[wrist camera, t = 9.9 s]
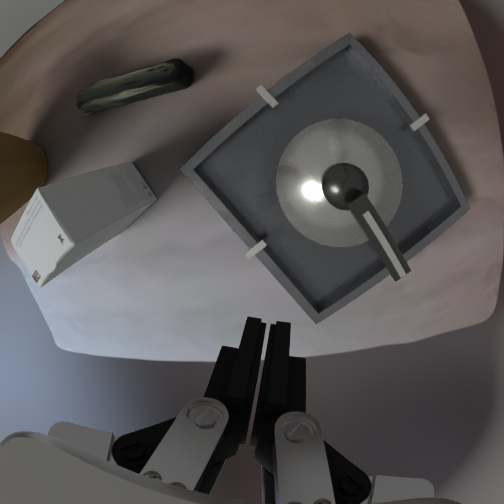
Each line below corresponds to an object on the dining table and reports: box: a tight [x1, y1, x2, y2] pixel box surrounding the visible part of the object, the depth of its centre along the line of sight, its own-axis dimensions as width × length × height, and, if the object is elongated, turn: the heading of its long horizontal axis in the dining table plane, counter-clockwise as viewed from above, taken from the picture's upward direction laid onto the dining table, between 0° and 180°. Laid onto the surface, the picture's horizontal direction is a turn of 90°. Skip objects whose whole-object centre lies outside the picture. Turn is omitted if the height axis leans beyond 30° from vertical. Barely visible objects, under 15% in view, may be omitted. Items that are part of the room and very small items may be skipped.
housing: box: [180, 33, 470, 324], centre depth 26 cm, size 23×23×3 cm
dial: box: [276, 119, 411, 282], centre depth 24 cm, size 16×12×6 cm
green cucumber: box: [77, 59, 194, 115], centre depth 24 cm, size 5×3×15 cm
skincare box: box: [11, 162, 157, 287], centre depth 25 cm, size 8×6×15 cm
